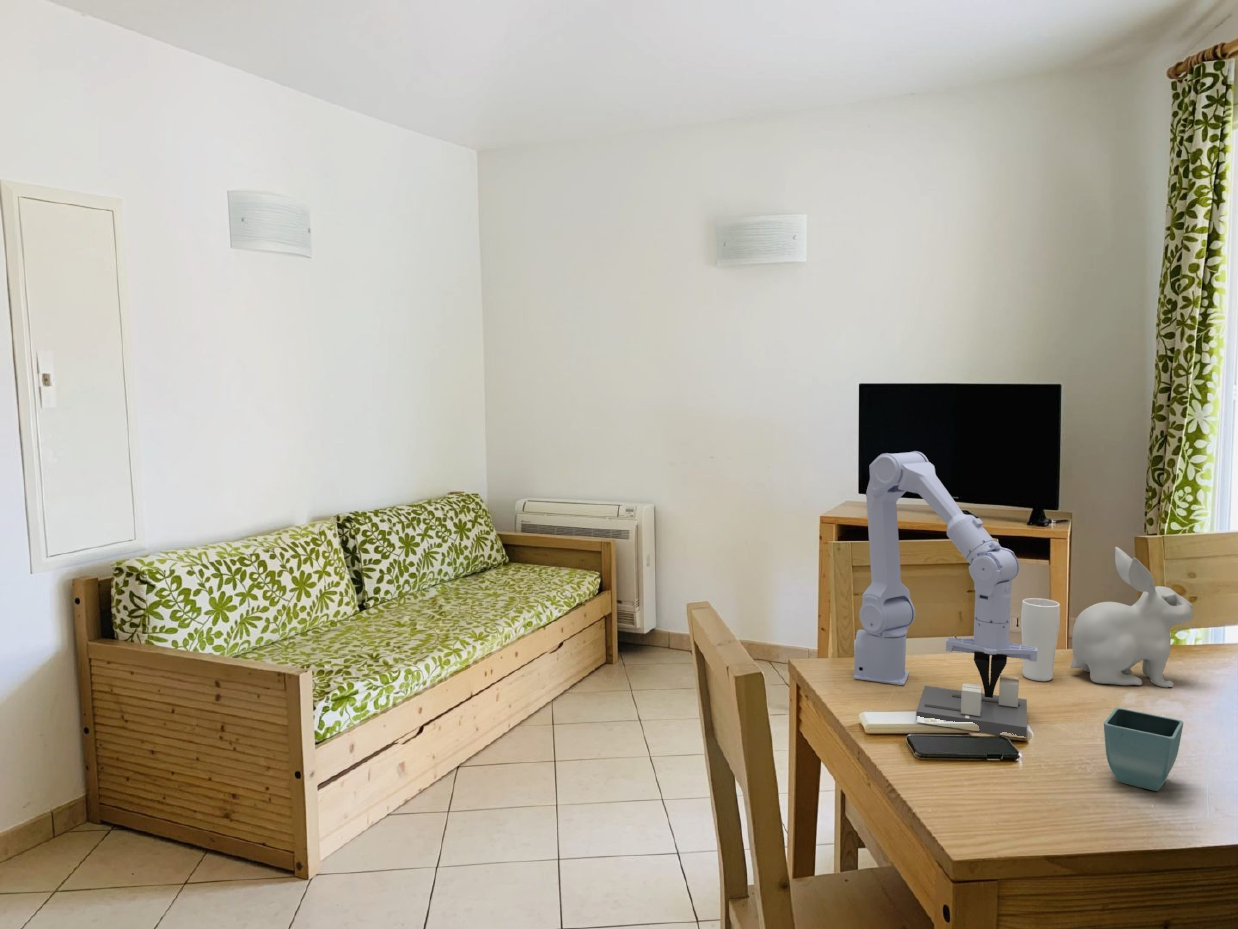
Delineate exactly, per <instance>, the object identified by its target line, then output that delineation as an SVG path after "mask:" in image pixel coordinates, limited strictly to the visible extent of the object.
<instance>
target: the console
mask: <svg viewBox="0 0 1238 929" xmlns="http://www.w3.org/2000/svg"><path fill="white" fill-rule="evenodd" d="M961 695H962V690H960V689H959V690H958V689H953V688H952V689H951V688H945V687H936V686H929V685H924V687H923V691H922V693H921V696H920V700H919V702H918V706H917V707H916V712H915V713H916V714H915V717H916V716H920V717H924V718H935V719H940V720H946V721H953V722H954V721H955V722H973V723H975V724H977V725H978V726H979V729H980V730H979V731H978V732H977V733H980V734H987V735H995V736H1000V733H1002V732H1007V733H1011V734H1012V733H1013V734H1014V735H1015V734H1016V735H1017V736H1024V737H1026V738H1027V737H1028V736H1027V734H1028V733H1027V732H1028V731H1027V730H1028V729H1027V728H1028V715H1027V714H1028V708H1027V707H1028V701H1027V700H1028V699H1026V698H1020V697H1018V707H1011V706H1004V705H999V694H998V695H997V694H993V698H990V697H985V693H983V692H982V701H981V713H980V716H975V715H968V714H961ZM1013 734H1012V735H1013Z"/></svg>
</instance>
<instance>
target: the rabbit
mask: <svg viewBox="0 0 1238 929" xmlns="http://www.w3.org/2000/svg"><path fill="white" fill-rule="evenodd" d="M1114 549H1115V550H1114V552H1115V554H1114V561H1115V568H1116V571H1117V573H1118V576H1119V577H1120V578H1121V580H1123V582H1125V583H1126V584H1127V585H1129V586H1131V587H1133V588H1134V589H1135V590H1136V591H1137V592H1142V594H1141V596H1140V597H1139V599H1138V600H1137V601H1136V602H1135V603H1133V604H1132V605H1128V604H1125V603H1121V602H1115V601H1103V602H1097V603H1095V604H1093V605H1090V606H1088V607H1087V608H1085V609H1084V610H1081V612H1080V613H1079V614H1078V616H1077V617H1076V619H1075V622H1074V625H1073V629H1072V634H1071V635H1072V636H1071V642H1072V644H1071V645H1072V655H1073V656H1072V659H1071V663H1070V669H1082V671H1085V672H1087V673H1089V678H1090V680H1091V681H1092V682H1093V683H1096V684H1104V685H1105V684H1106V685H1108V684H1109V685H1118V686H1119V685H1120V686H1132V685H1133V686H1134V685H1135V686H1141V685H1143V680H1142V679H1141V678H1139V677H1138V676H1135V675H1132V673H1133V672H1132V670H1131V668H1133V667H1135V665H1137V664H1138V663H1141V662H1142V667H1141V668H1142V670H1141V672H1142V673H1143V675H1144V676H1145V677H1147V678H1150V681H1151V683H1153V684H1154V685H1156V686H1157V687H1161V688H1168V687H1172V688H1173V687H1174V686H1175V684H1174V682H1173V681H1171V680H1165V679H1164V678H1165V676H1164V670H1165V668H1166V666H1167V662H1168V659H1169V657H1170V654H1171V644H1172V643H1171V637H1172V636H1171V632H1170V630H1171V628H1172V626H1174V625H1175V626H1176V625H1182V624H1184V623H1186V622H1189V621H1191V620H1192V619H1193V618H1194V611H1193V607H1194V605H1193V604H1192V603H1191V602H1190V601H1188V599H1186V598H1184V597H1183V596H1182V595H1180V594H1178V593H1177V592H1176V591H1175V590H1173V589H1172V588H1170V587H1167V586H1161V585H1160V586H1159V585H1157V586H1155V581H1154V580H1155V579H1154V577H1153V575H1152V573H1151V572H1150V570H1149V569H1148V568H1146V566H1145V565H1143V564H1142V562H1141V561H1140V560H1139V559H1138V558H1136V557H1133V558H1131V557H1130V556H1129V555H1128V554H1127V553H1126V551H1123V550H1122V549H1121V548H1120V547H1118V546H1115V547H1114Z"/></svg>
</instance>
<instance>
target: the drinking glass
mask: <svg viewBox="0 0 1238 929" xmlns="http://www.w3.org/2000/svg"><path fill="white" fill-rule="evenodd" d="M1020 615H1021V616H1020V626H1021V631H1020V632H1021V645H1023V646H1028V647H1035V648H1037V661H1036V662H1035V661H1030V660H1028V659H1022V675H1023V676H1024V677H1025V678H1026V679H1028V680H1031V681H1035V682H1049V681H1051V680H1052V679H1053V677H1054V668H1055V667H1054V666H1055V660H1056V659H1055V658H1056V651H1057V646H1058V645H1057V644H1058V640H1059V639H1058V637H1059V631H1060V623H1061V622H1060V621H1061V603H1059V602H1058V601H1056V600H1053V599H1047V598H1039V597H1038V598H1037V597H1034V598H1033V597H1031V598H1024V599H1022V602H1021V613H1020Z"/></svg>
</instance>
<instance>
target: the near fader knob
mask: <svg viewBox="0 0 1238 929" xmlns="http://www.w3.org/2000/svg"><path fill="white" fill-rule="evenodd" d="M961 691H962V695H961V714H968V715H975V716H980V713H981V701H982V693H983V684H982V685H981V684H974V683H968V682H963V683H962V687H961Z"/></svg>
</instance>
